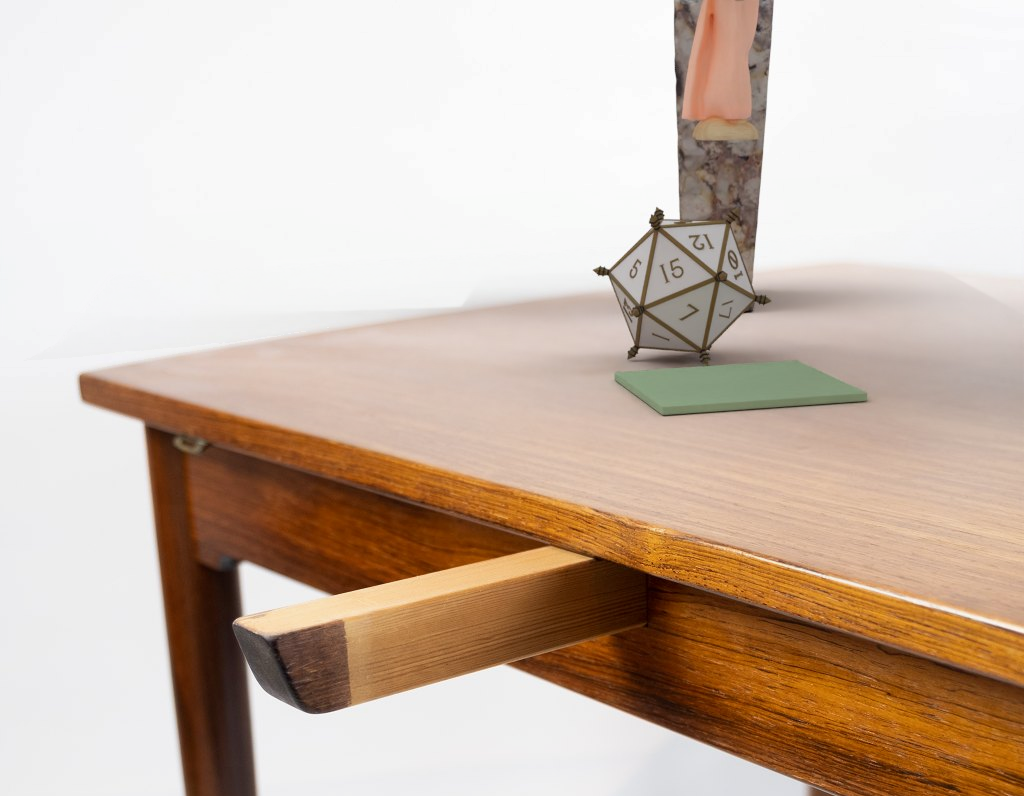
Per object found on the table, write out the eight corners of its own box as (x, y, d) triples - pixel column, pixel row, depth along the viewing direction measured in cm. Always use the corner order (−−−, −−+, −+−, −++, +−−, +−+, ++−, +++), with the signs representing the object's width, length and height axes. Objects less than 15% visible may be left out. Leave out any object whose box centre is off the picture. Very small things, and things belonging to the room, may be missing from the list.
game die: (653, 421, 87) (606, 269, 89) (795, 365, 85) (743, 211, 87) (613, 367, 79) (562, 201, 81) (769, 304, 77) (712, 135, 79)
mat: (797, 367, 81) (797, 359, 80) (867, 401, 71) (867, 392, 71) (614, 379, 79) (614, 372, 79) (662, 415, 70) (662, 406, 70)
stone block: (778, 312, 100) (788, -22, 93) (672, 315, 101) (674, -17, 93) (760, 288, 113) (768, -9, 105) (666, 291, 113) (667, -5, 105)
